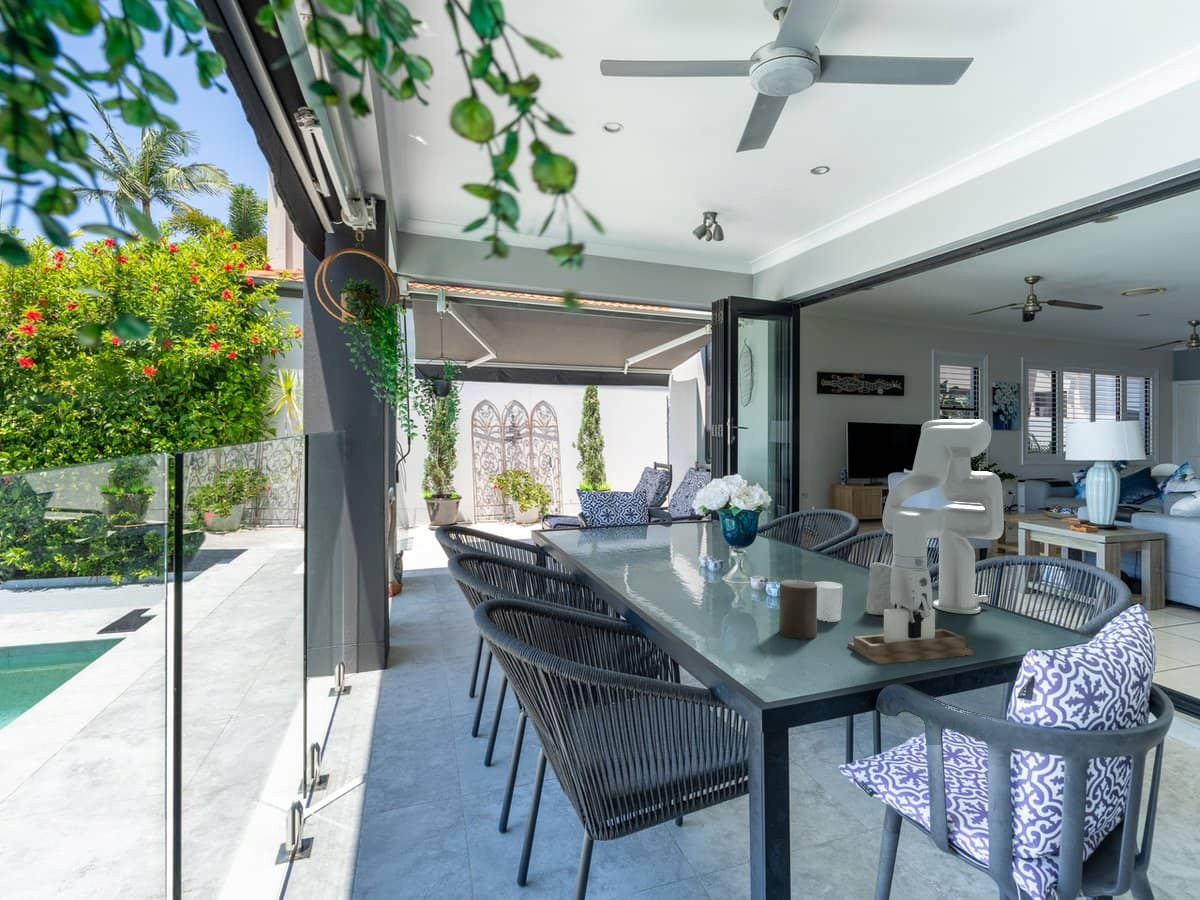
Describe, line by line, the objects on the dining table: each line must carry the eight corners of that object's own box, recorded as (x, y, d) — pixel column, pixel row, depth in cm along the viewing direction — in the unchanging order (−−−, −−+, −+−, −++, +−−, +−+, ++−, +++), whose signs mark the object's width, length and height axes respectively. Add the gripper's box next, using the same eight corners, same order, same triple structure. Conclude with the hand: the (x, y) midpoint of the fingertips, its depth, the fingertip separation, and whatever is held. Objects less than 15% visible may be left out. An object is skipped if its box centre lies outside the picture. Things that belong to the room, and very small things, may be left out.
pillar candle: (798, 642, 161) (798, 584, 161) (771, 631, 170) (772, 576, 169) (824, 636, 166) (825, 580, 165) (797, 626, 174) (798, 573, 174)
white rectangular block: (926, 637, 157) (926, 606, 156) (934, 641, 154) (934, 609, 154) (883, 641, 154) (883, 609, 154) (891, 645, 152) (891, 613, 151)
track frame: (937, 638, 163) (937, 625, 162) (973, 655, 151) (973, 641, 151) (847, 646, 157) (847, 633, 157) (877, 664, 146) (877, 649, 146)
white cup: (845, 623, 176) (845, 588, 176) (815, 622, 178) (815, 587, 177) (840, 615, 184) (840, 581, 183) (812, 614, 185) (812, 580, 185)
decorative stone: (905, 612, 185) (905, 563, 185) (908, 618, 180) (908, 567, 179) (865, 609, 189) (865, 560, 188) (867, 615, 183) (867, 565, 183)
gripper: (947, 568, 146) (947, 645, 147) (901, 554, 162) (900, 623, 163) (919, 569, 145) (919, 647, 145) (875, 555, 161) (875, 626, 161)
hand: (909, 634), depth 154 cm, fingers closed on white rectangular block, 3 cm apart
